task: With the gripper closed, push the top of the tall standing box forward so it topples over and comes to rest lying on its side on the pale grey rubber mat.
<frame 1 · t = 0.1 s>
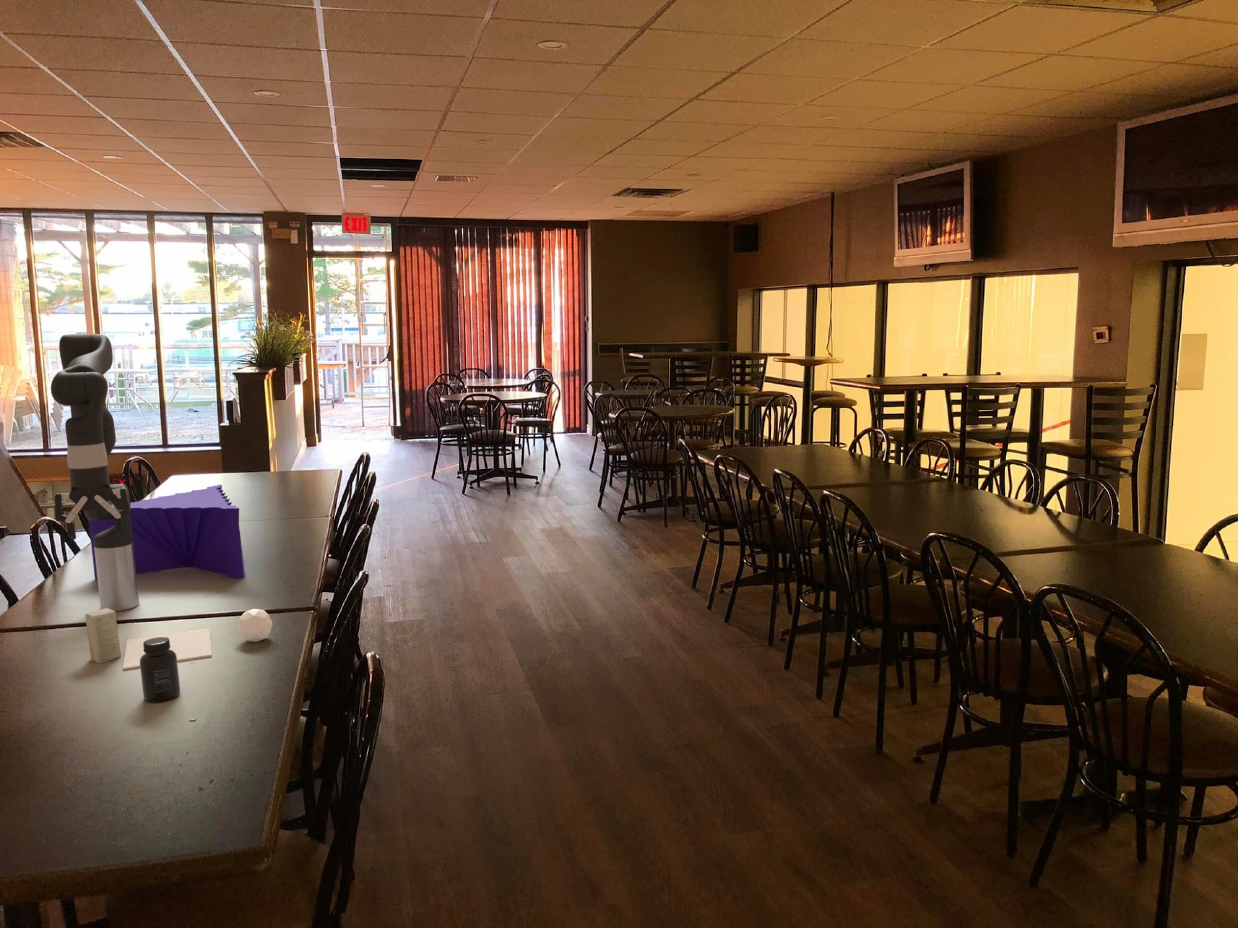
hand: (95, 536, 207), 29 cm above the table, fingers open, 8 cm apart
supplement bottle: (162, 697, 192), on the table
box: (105, 659, 214), on the table
mat: (168, 649, 219), on the table
geometric ball: (256, 641, 224), on the table
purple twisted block: (198, 563, 297), on the table
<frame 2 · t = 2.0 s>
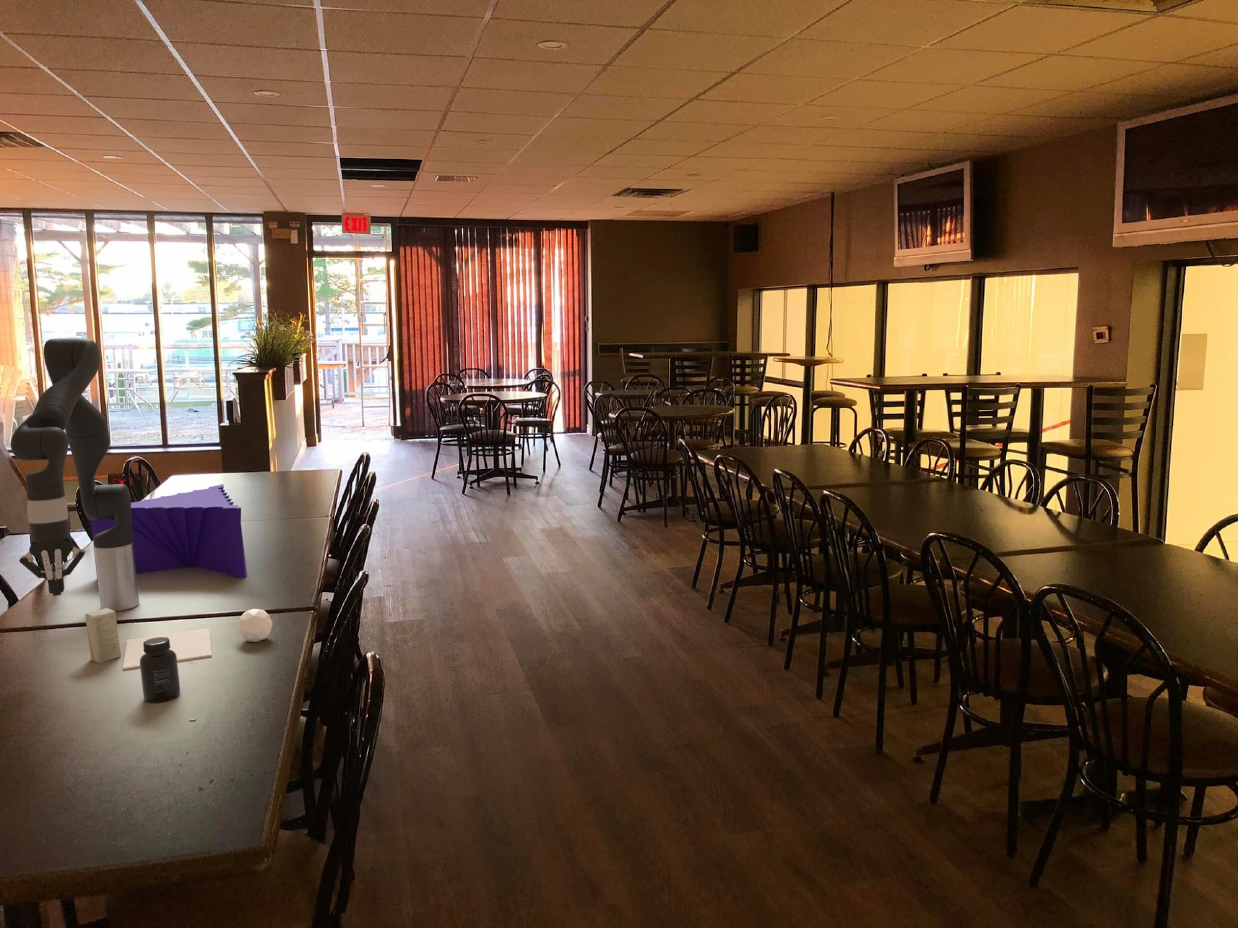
hand: (57, 594, 208), 16 cm above the table, fingers closed
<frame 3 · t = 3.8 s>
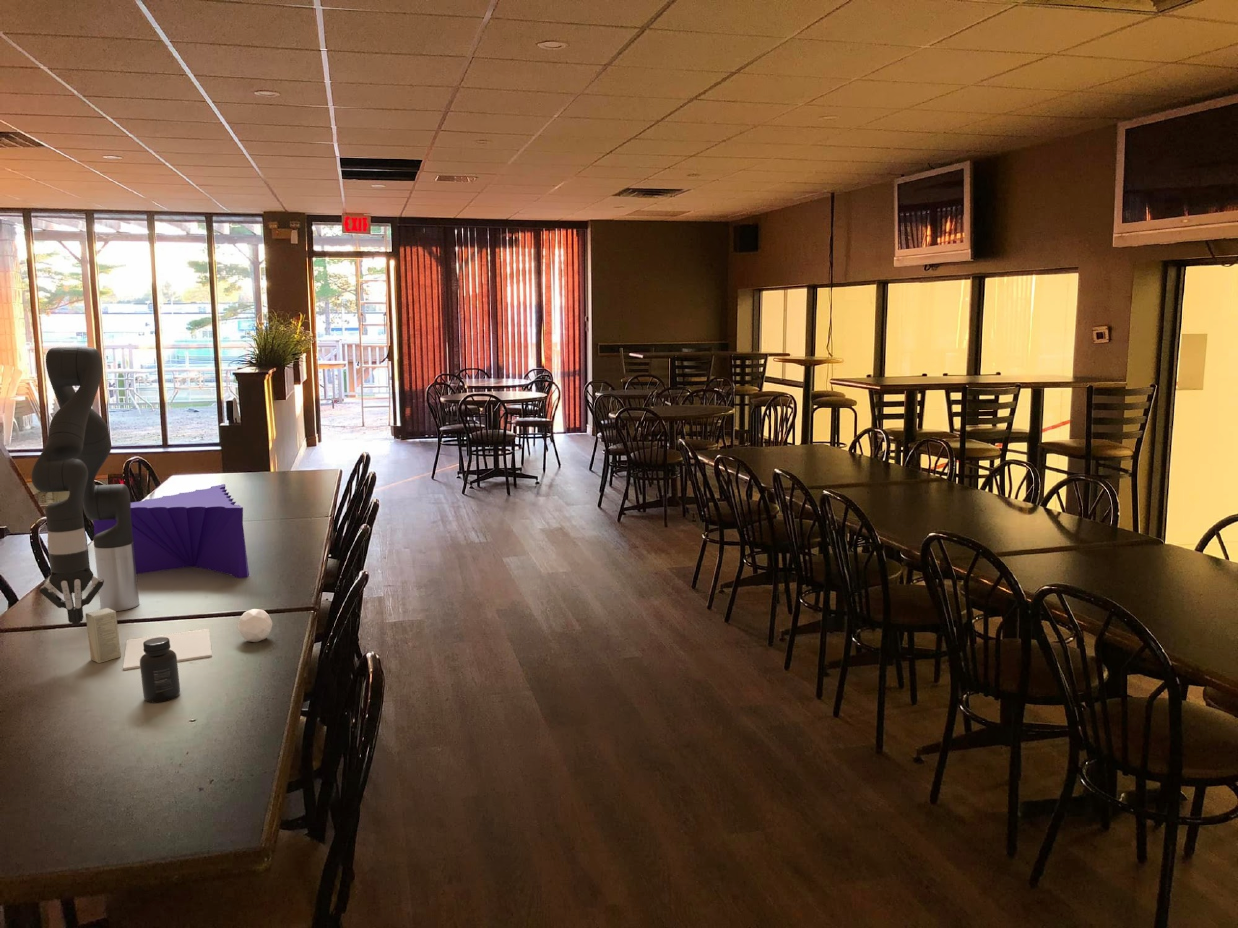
hand: (76, 623, 210), 9 cm above the table, fingers closed
box: (105, 659, 214), on the table, touching gripper
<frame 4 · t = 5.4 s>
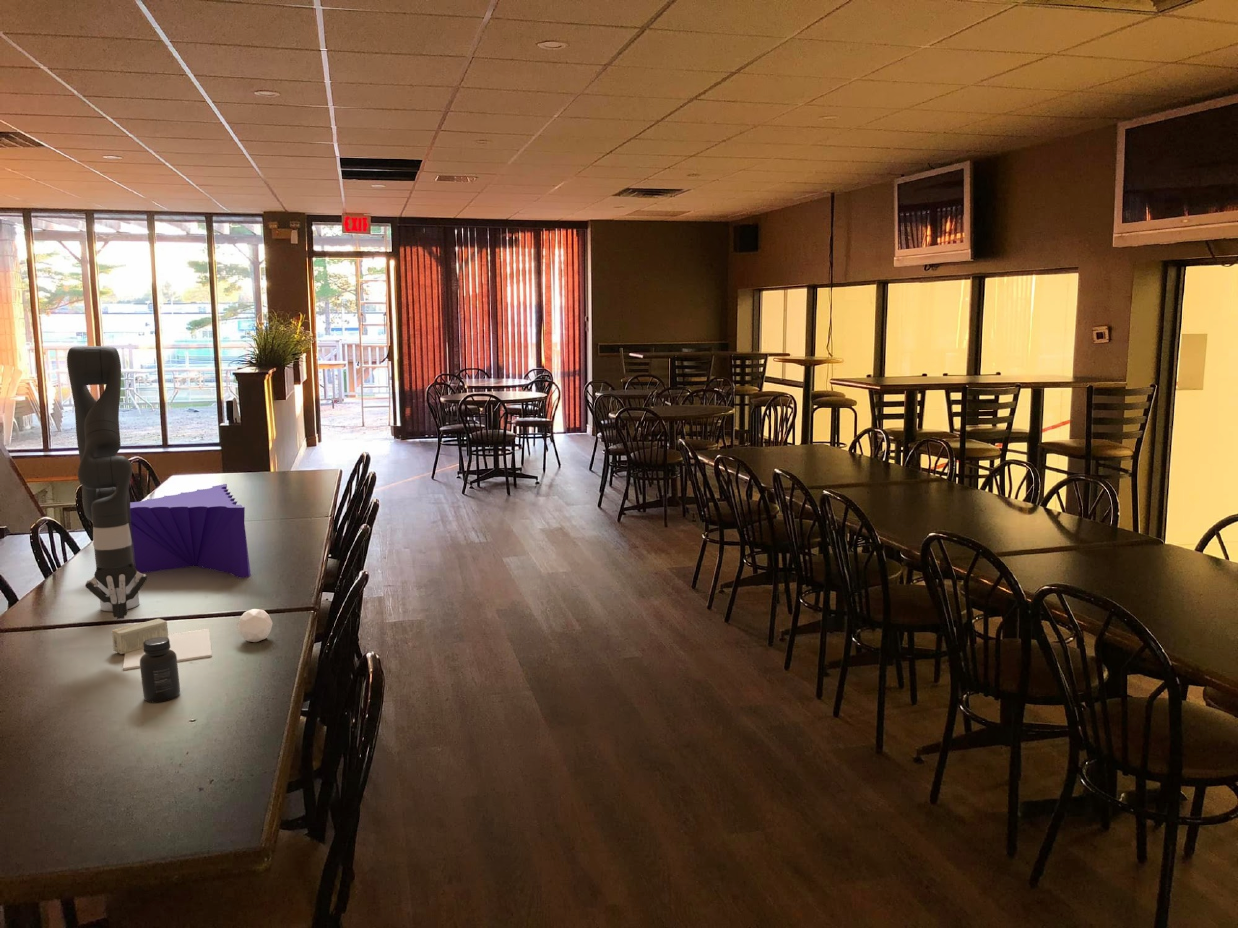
hand: (120, 617, 214), 9 cm above the table, fingers closed
box: (115, 641, 215), point 3 cm above the table, touching mat
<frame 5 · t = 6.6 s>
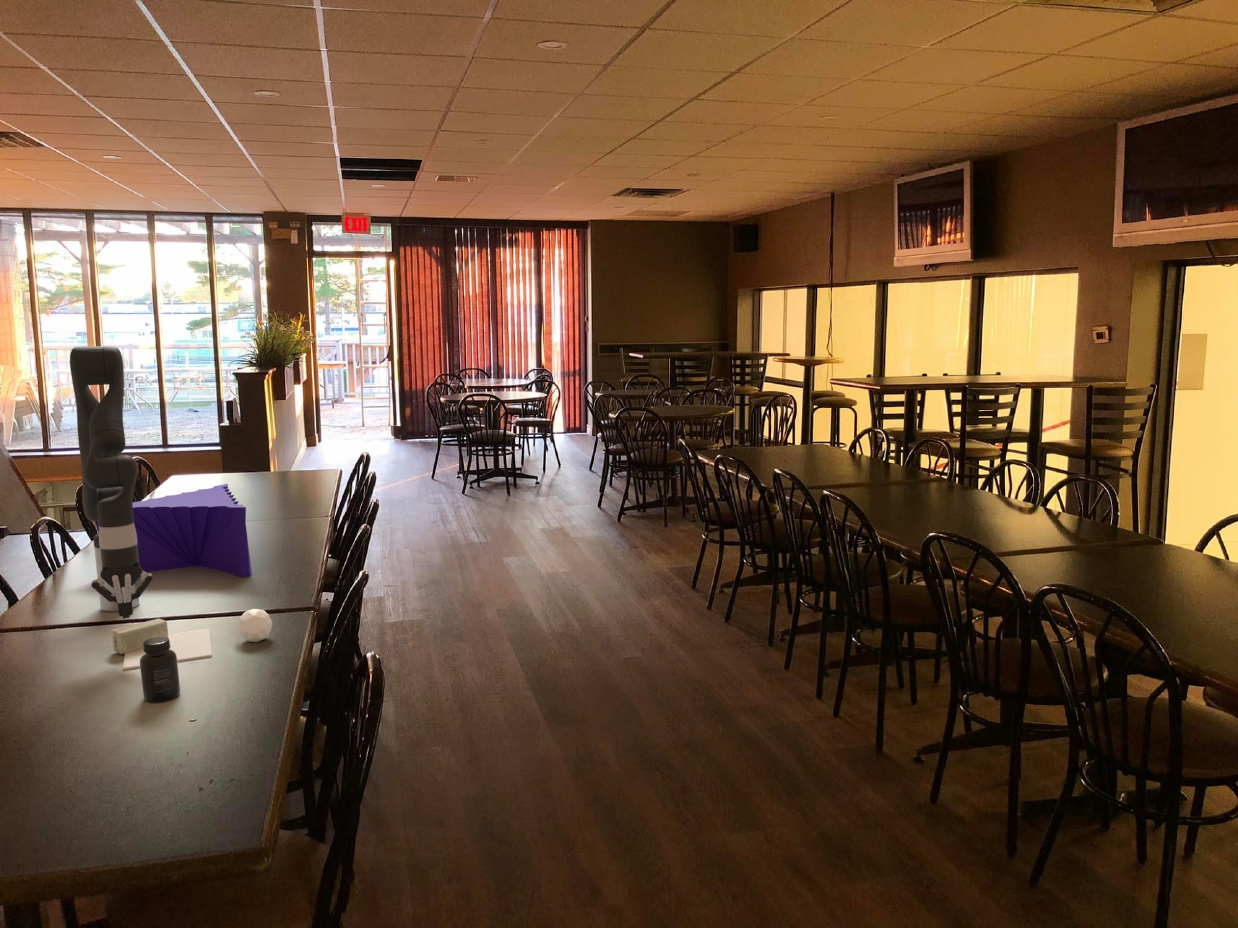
hand: (126, 617, 214), 9 cm above the table, fingers closed
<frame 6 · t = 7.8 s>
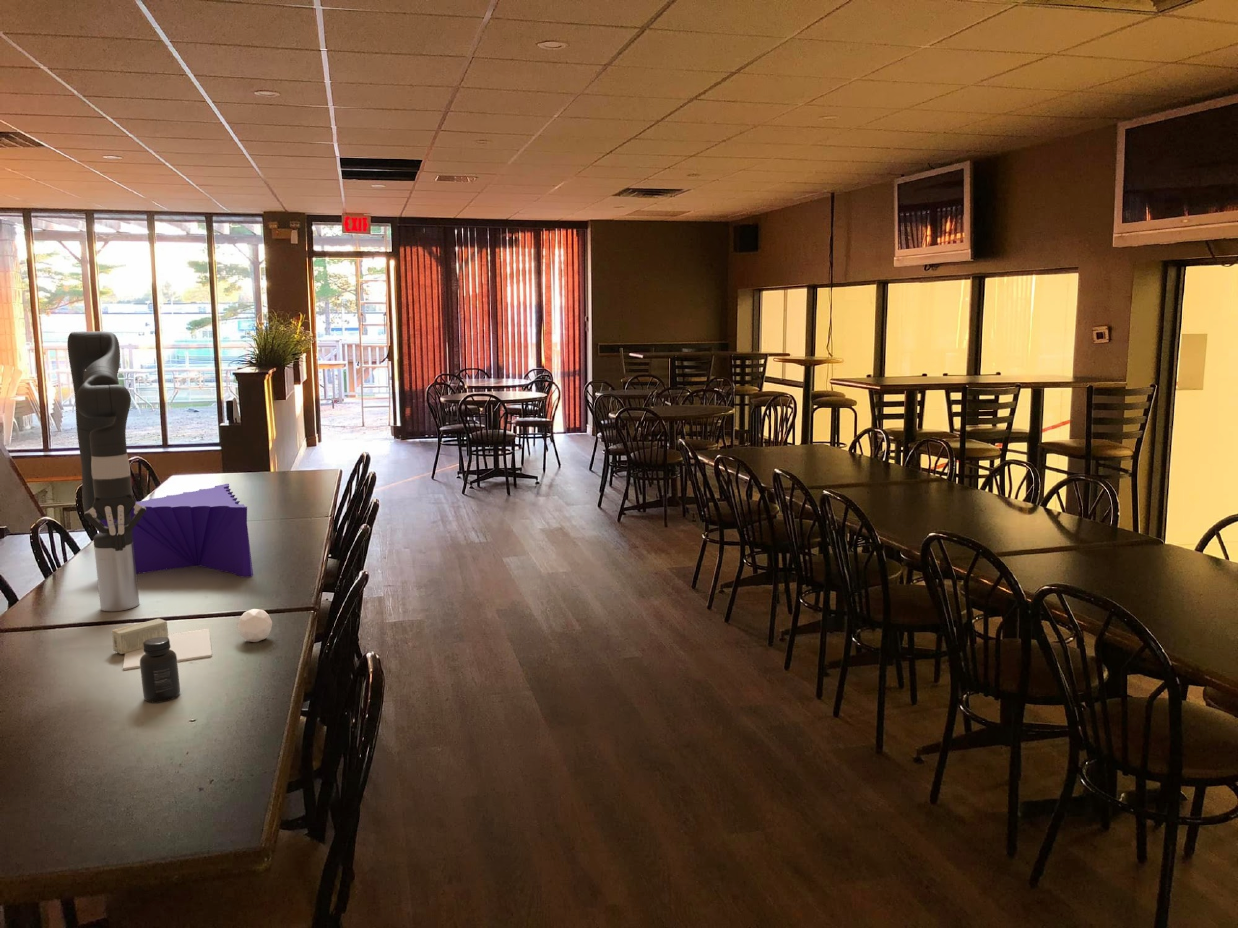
hand: (119, 550, 212), 25 cm above the table, fingers closed
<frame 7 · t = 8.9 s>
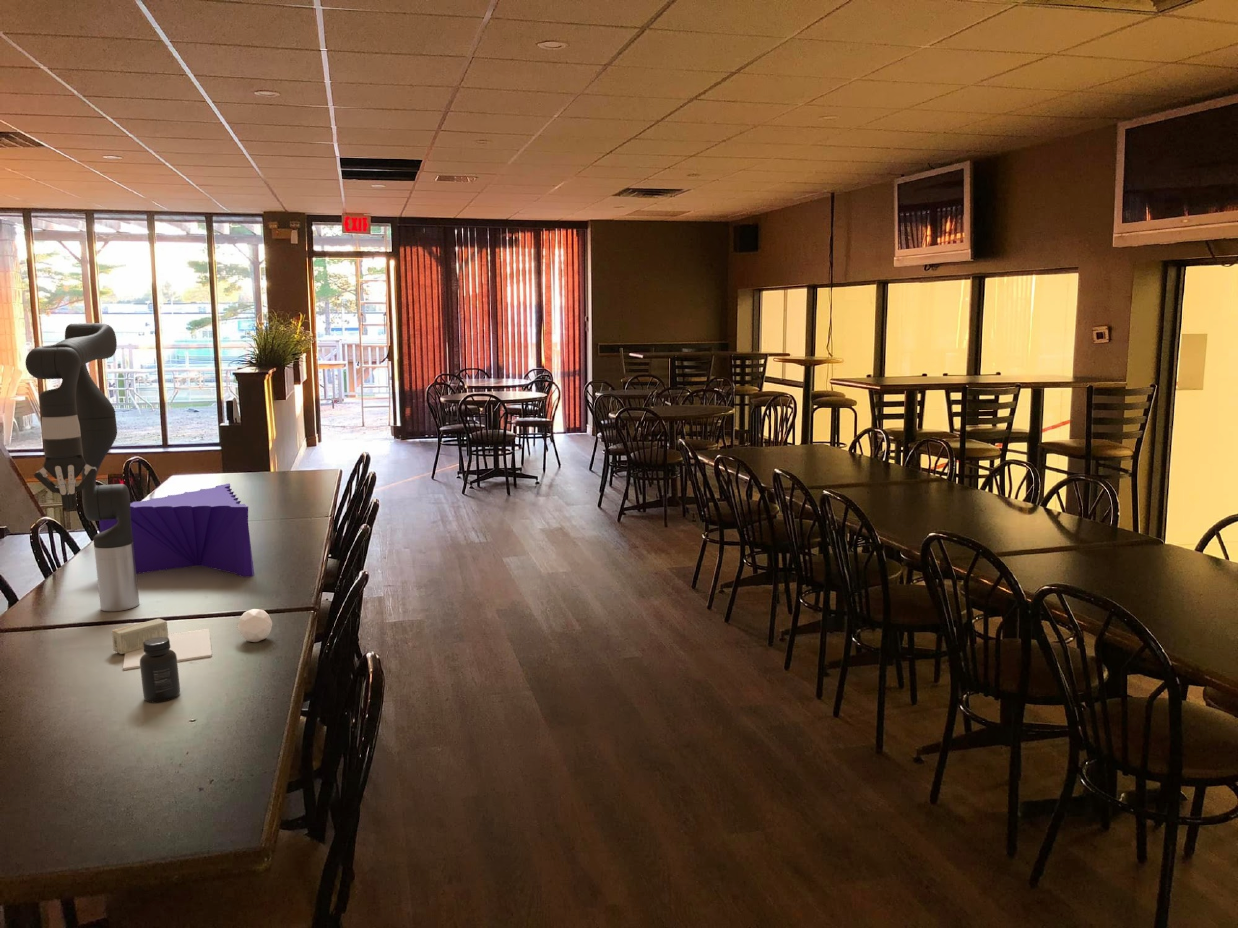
hand: (70, 509, 217), 33 cm above the table, fingers closed
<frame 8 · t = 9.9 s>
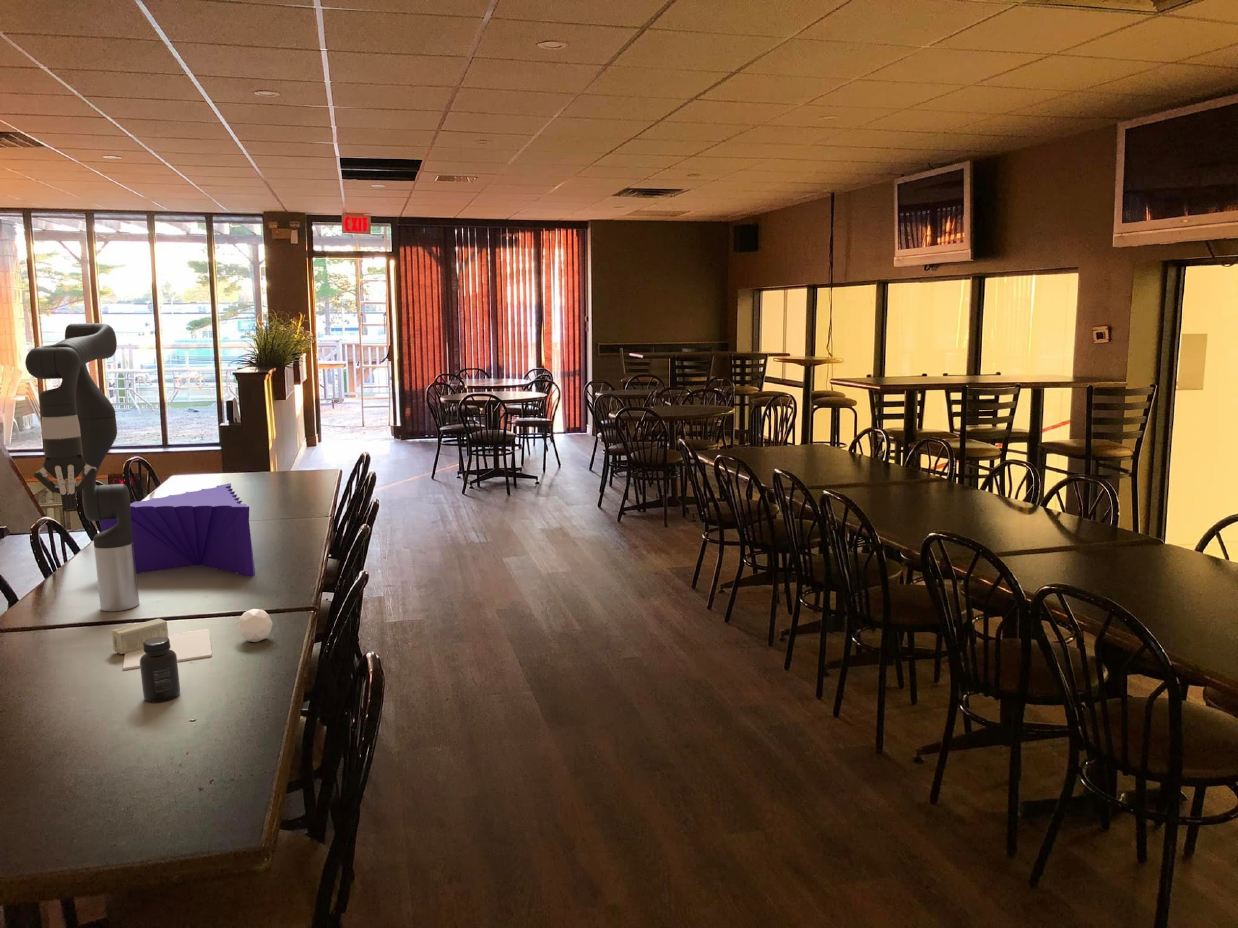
hand: (69, 509, 217), 33 cm above the table, fingers closed
at the end: box tilted 91°; box touching mat; box inside the target area (2.7 cm from its centre), point 3.2 cm above the table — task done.
